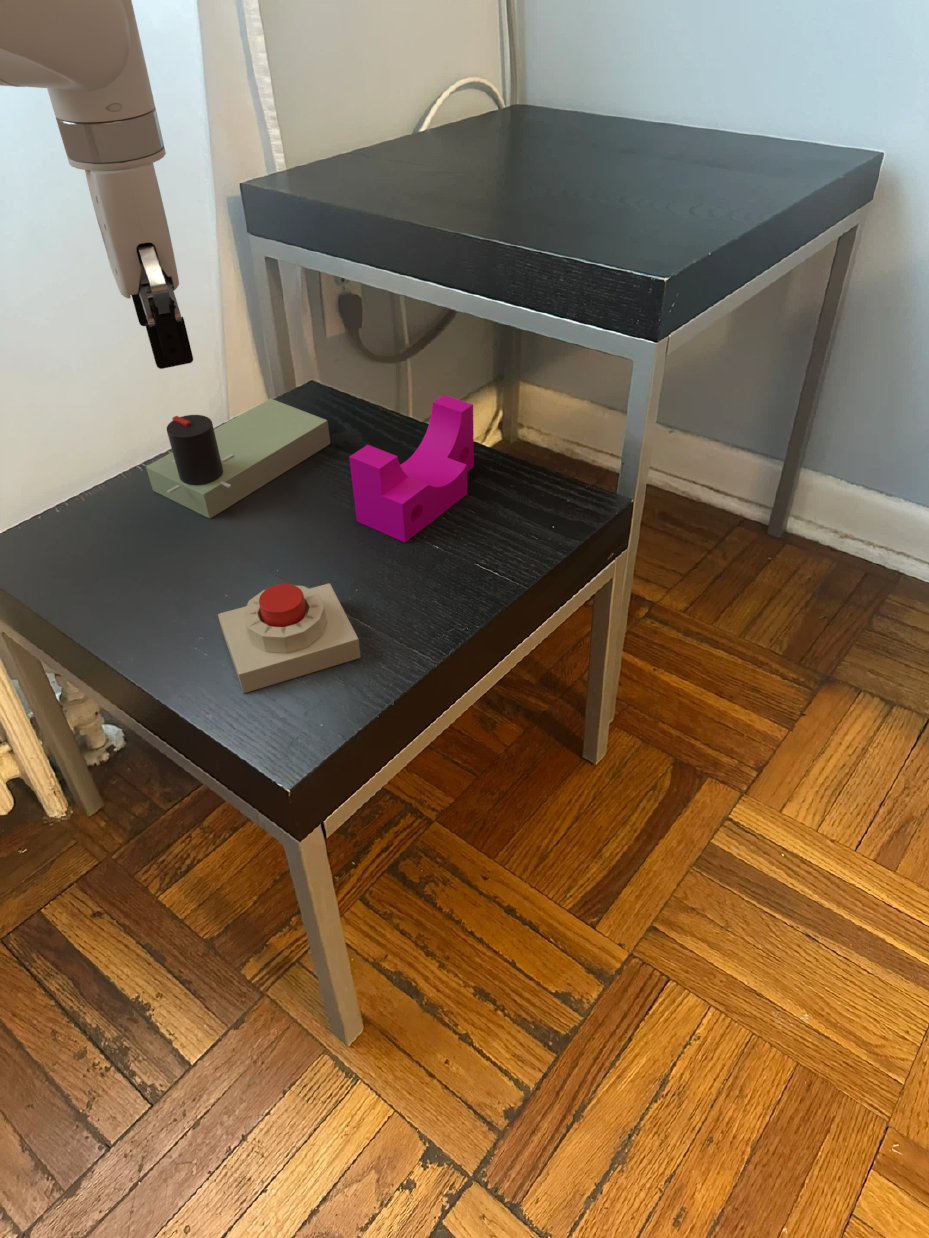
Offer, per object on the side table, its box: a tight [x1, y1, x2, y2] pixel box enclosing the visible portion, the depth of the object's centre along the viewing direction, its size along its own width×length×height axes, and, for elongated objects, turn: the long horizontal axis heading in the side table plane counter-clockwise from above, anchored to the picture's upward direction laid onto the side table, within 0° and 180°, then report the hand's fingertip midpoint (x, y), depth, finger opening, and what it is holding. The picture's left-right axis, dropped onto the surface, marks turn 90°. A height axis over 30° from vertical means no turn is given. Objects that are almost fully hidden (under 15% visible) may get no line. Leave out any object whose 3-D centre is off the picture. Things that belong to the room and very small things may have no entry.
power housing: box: [217, 582, 362, 694], centre depth 74 cm, size 10×8×4 cm
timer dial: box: [166, 414, 223, 485], centre depth 88 cm, size 4×4×6 cm
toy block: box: [348, 394, 475, 543], centre depth 89 cm, size 15×6×8 cm, turn 144°
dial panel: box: [145, 398, 331, 519], centre depth 95 cm, size 20×10×3 cm, turn 144°
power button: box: [259, 583, 306, 627], centre depth 72 cm, size 4×4×2 cm
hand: (165, 343), depth 81 cm, fingers open, 9 cm apart
